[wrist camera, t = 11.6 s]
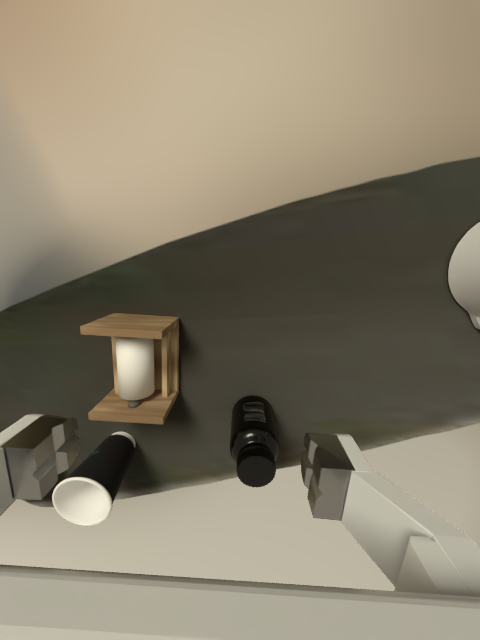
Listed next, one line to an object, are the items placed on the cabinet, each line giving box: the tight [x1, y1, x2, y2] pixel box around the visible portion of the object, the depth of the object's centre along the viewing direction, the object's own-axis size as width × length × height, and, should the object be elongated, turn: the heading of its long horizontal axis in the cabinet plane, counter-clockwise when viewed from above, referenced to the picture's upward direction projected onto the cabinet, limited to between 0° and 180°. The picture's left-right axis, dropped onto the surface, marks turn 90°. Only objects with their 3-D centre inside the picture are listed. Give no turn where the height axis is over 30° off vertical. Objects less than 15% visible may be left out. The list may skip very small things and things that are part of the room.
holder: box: [80, 313, 179, 424], centre depth 35 cm, size 13×10×8 cm
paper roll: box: [115, 336, 155, 400], centre depth 35 cm, size 9×5×5 cm, turn 177°
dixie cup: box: [52, 432, 136, 526], centre depth 37 cm, size 8×8×11 cm
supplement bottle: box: [230, 396, 280, 487], centre depth 35 cm, size 7×7×12 cm
